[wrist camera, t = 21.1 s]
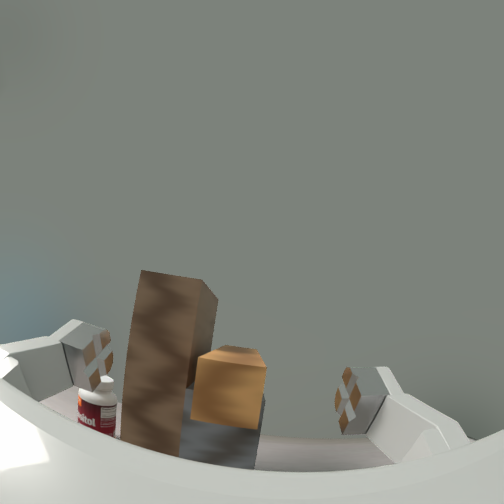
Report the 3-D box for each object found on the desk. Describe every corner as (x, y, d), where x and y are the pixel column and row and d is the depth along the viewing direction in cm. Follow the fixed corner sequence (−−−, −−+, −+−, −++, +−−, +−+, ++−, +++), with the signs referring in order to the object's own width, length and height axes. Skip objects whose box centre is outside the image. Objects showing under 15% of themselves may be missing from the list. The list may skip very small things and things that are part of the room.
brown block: (190, 419, 14) (198, 357, 15) (221, 374, 33) (225, 345, 34) (257, 429, 14) (266, 367, 15) (252, 379, 33) (256, 349, 34)
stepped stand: (121, 499, 17) (141, 269, 25) (157, 457, 31) (176, 292, 38) (242, 527, 17) (280, 290, 24) (243, 474, 30) (268, 306, 38)
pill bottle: (70, 432, 29) (72, 369, 32) (99, 429, 34) (102, 371, 37) (93, 450, 26) (94, 383, 29) (123, 444, 31) (126, 383, 35)
